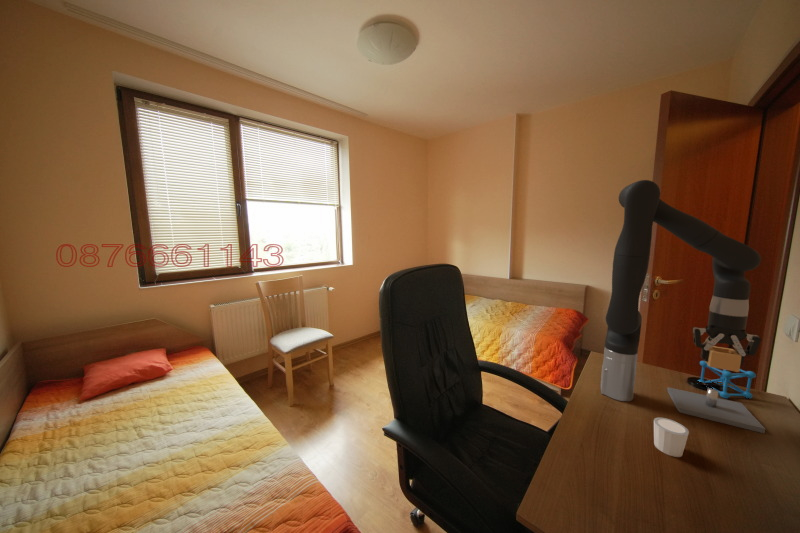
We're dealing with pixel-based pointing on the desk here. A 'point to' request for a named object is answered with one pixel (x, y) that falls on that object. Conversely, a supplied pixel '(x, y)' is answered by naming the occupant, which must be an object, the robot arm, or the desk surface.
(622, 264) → the robot arm
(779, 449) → the desk surface
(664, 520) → the desk surface
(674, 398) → the post board
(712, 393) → the steel post
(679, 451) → the shot glass
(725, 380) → the molecular structure
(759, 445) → the desk surface
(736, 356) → the ochre collar
